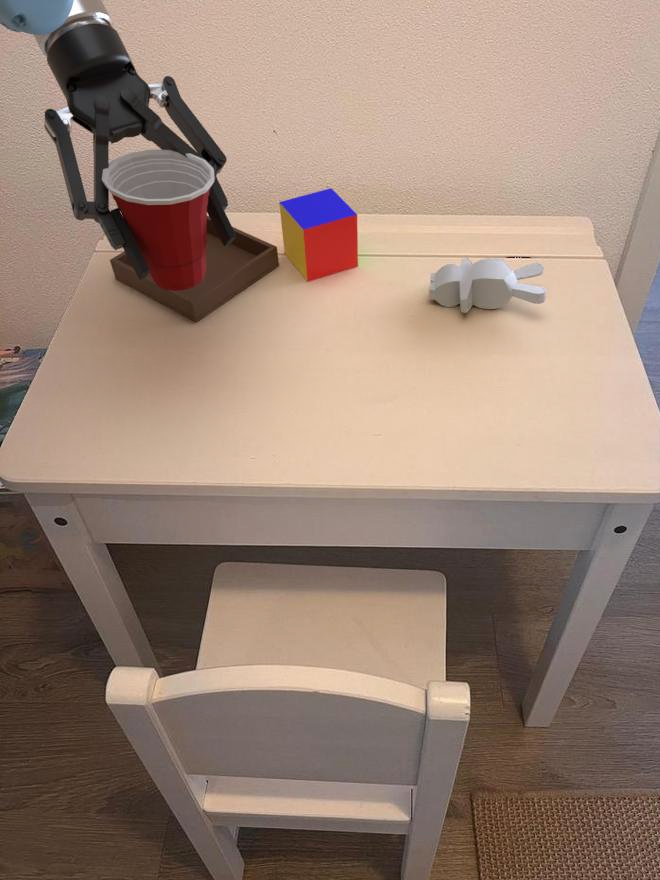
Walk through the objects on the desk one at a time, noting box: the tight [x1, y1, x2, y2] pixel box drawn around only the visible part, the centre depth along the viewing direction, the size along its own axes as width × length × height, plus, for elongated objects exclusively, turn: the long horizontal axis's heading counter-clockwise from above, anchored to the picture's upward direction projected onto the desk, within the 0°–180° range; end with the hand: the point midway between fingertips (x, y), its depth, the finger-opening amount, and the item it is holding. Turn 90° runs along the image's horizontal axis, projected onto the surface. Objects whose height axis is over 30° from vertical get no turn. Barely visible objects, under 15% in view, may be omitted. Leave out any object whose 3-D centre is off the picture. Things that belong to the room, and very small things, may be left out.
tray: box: [109, 215, 280, 323], centre depth 101 cm, size 16×16×3 cm
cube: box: [279, 187, 359, 282], centre depth 101 cm, size 8×8×8 cm
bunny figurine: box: [429, 257, 547, 314], centre depth 96 cm, size 10×5×15 cm
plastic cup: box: [102, 149, 215, 291], centre depth 75 cm, size 11×11×12 cm
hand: (188, 257), depth 75 cm, fingers closed on plastic cup, 9 cm apart
